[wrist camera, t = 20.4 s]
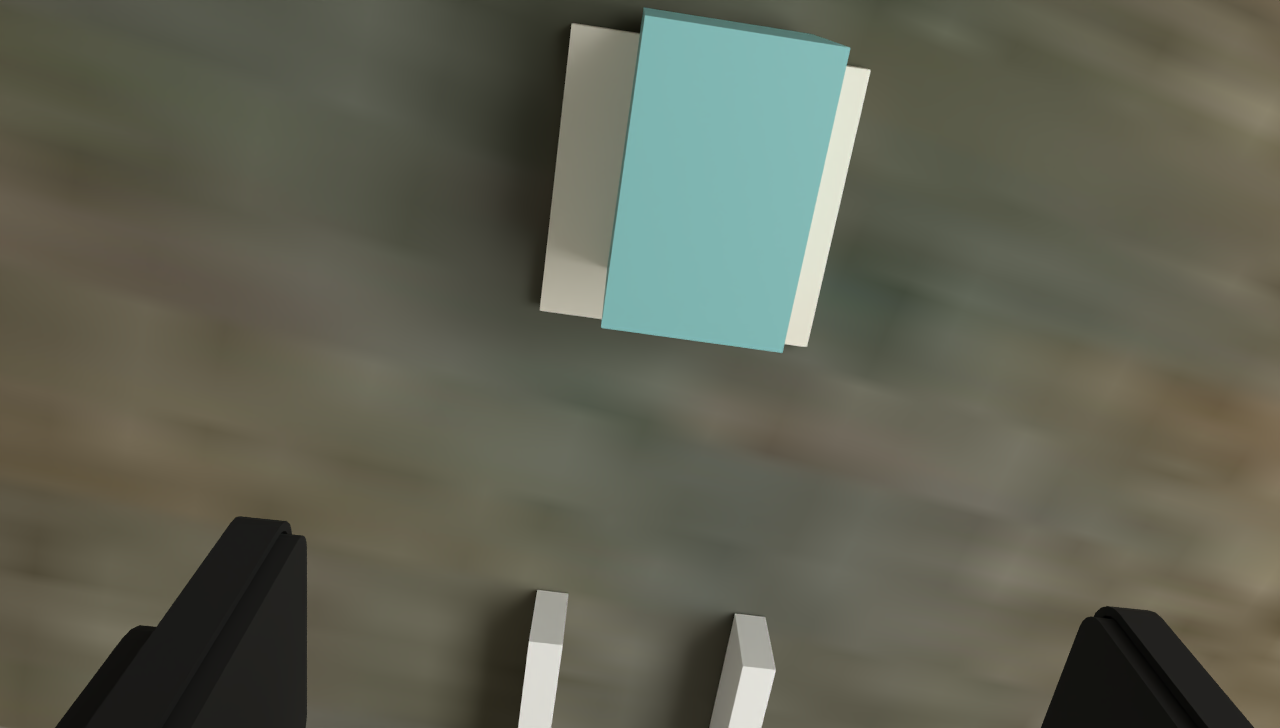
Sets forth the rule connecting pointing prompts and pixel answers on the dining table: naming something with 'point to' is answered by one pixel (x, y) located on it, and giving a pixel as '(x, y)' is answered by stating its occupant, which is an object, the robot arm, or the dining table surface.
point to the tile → (595, 167)
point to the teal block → (719, 178)
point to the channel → (737, 690)
